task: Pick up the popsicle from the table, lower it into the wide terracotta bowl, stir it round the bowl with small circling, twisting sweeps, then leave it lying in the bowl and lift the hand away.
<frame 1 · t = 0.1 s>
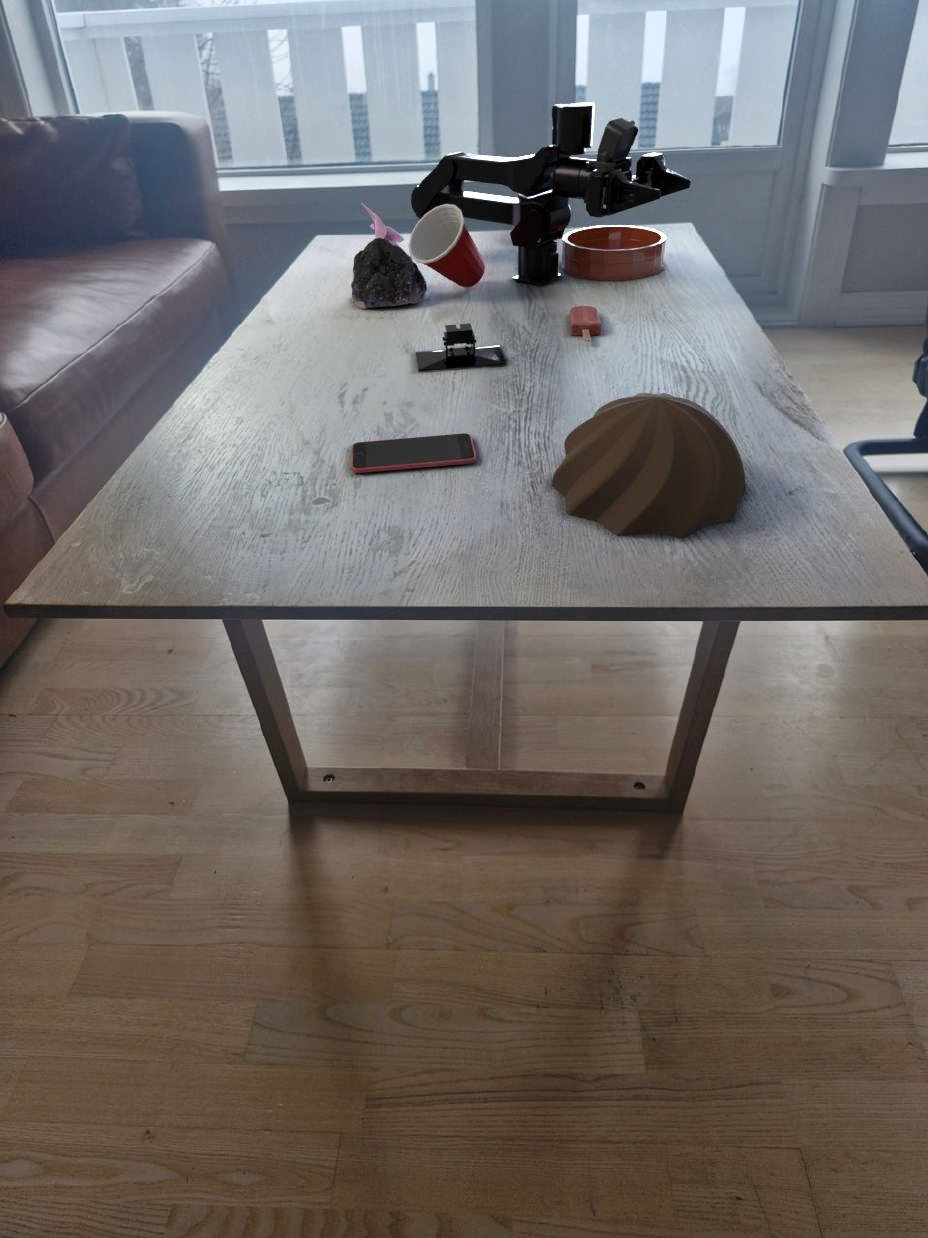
hand: (675, 189, 119), 17 cm above the table, tool horizontal, fingers open, 9 cm apart
decorative dome: (646, 489, 83), on the table
smartphone: (413, 456, 91), on the table
bowl: (611, 266, 148), on the table
plastic cup: (471, 272, 140), point 2 cm above the table, touching crystal cluster
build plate: (460, 360, 114), on the table
popsicle: (584, 331, 121), on the table
crystal cluster: (388, 300, 138), on the table, touching plastic cup
lily: (387, 259, 159), on the table
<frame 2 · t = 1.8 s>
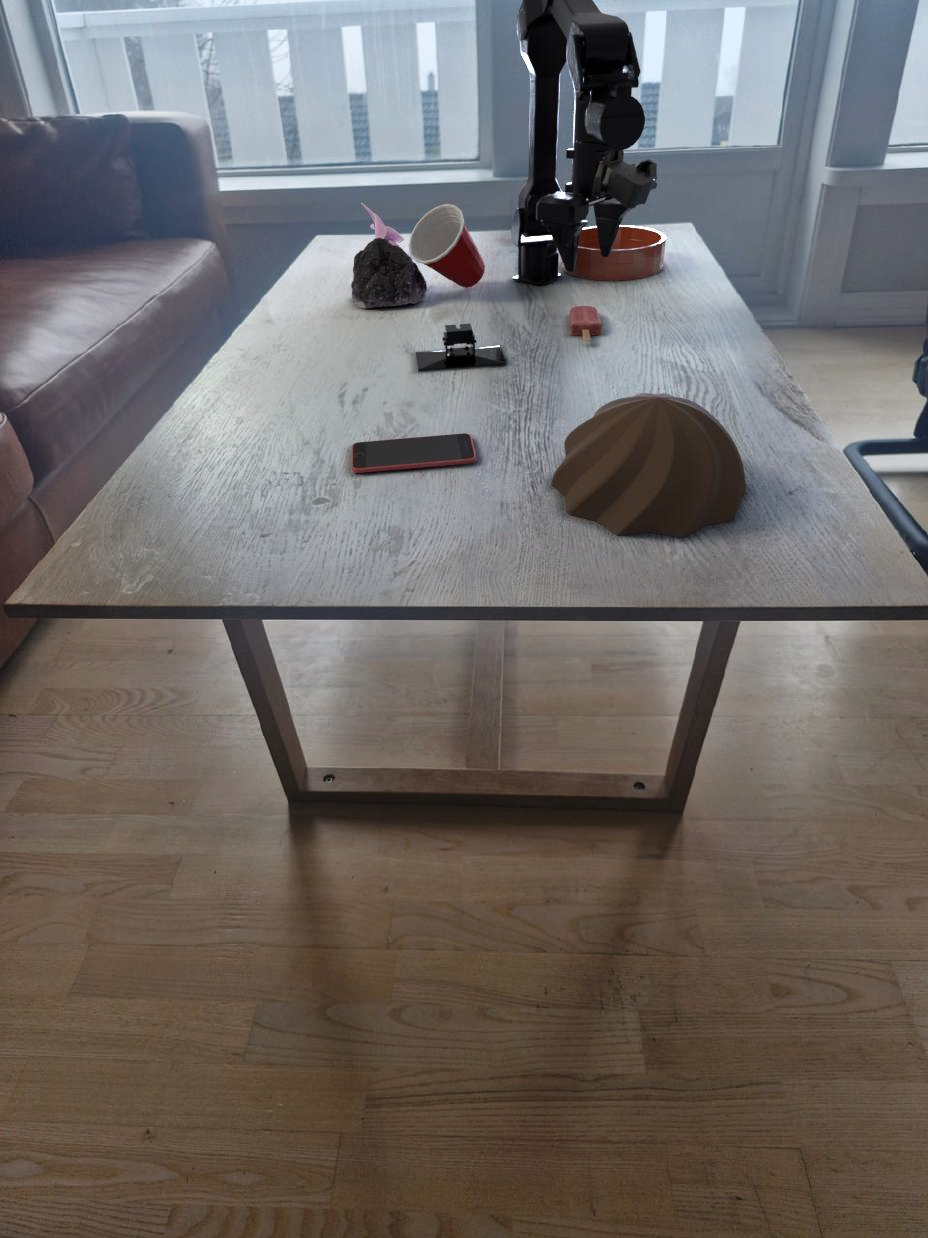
hand: (588, 263, 115), 10 cm above the table, tool pointing down, fingers open, 9 cm apart
nothing on the table moved.
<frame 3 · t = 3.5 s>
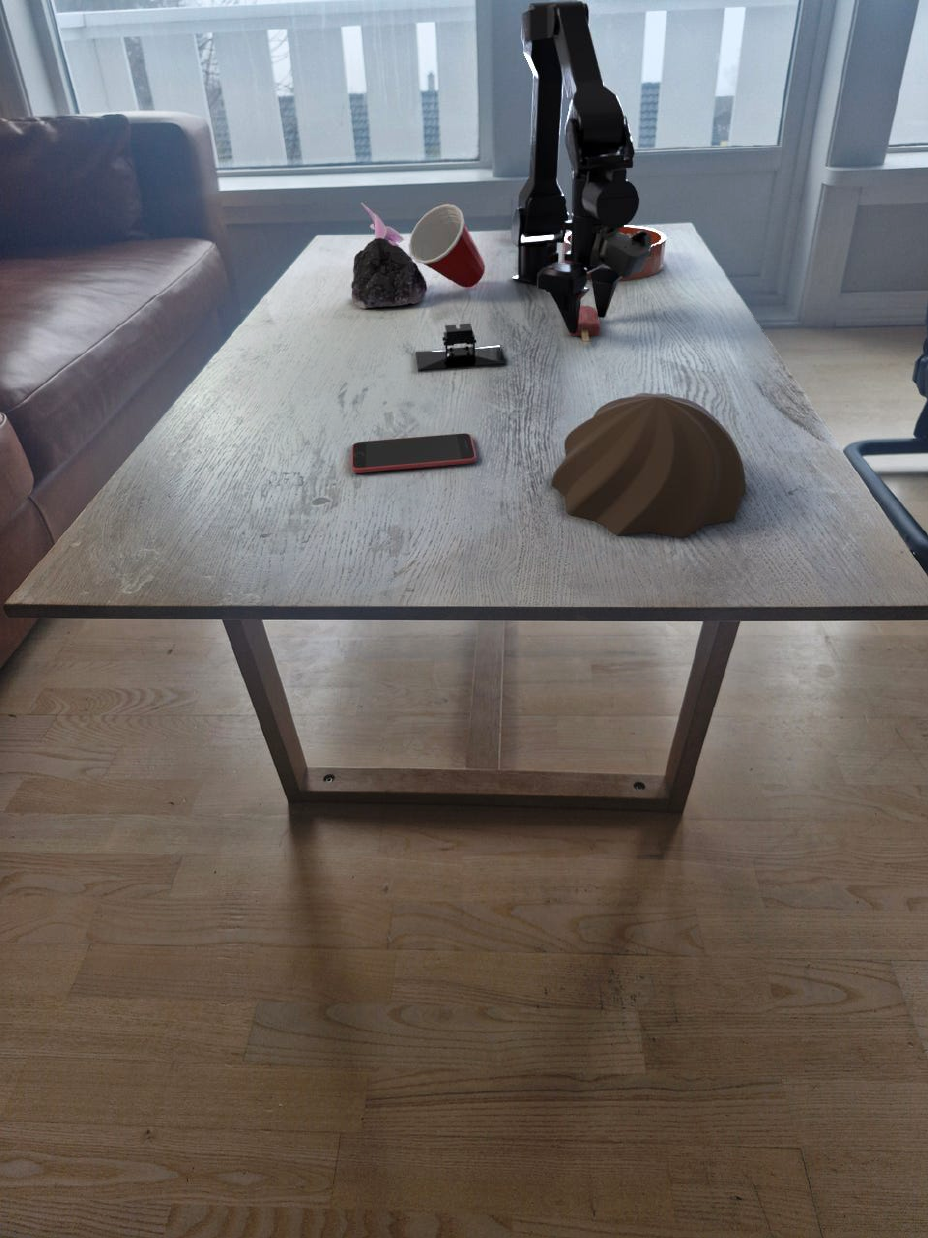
hand: (587, 325, 121), 1 cm above the table, tool pointing down, fingers closed on popsicle, 8 cm apart
popsicle: (583, 331, 121), on the table, touching gripper
everything else where it was.
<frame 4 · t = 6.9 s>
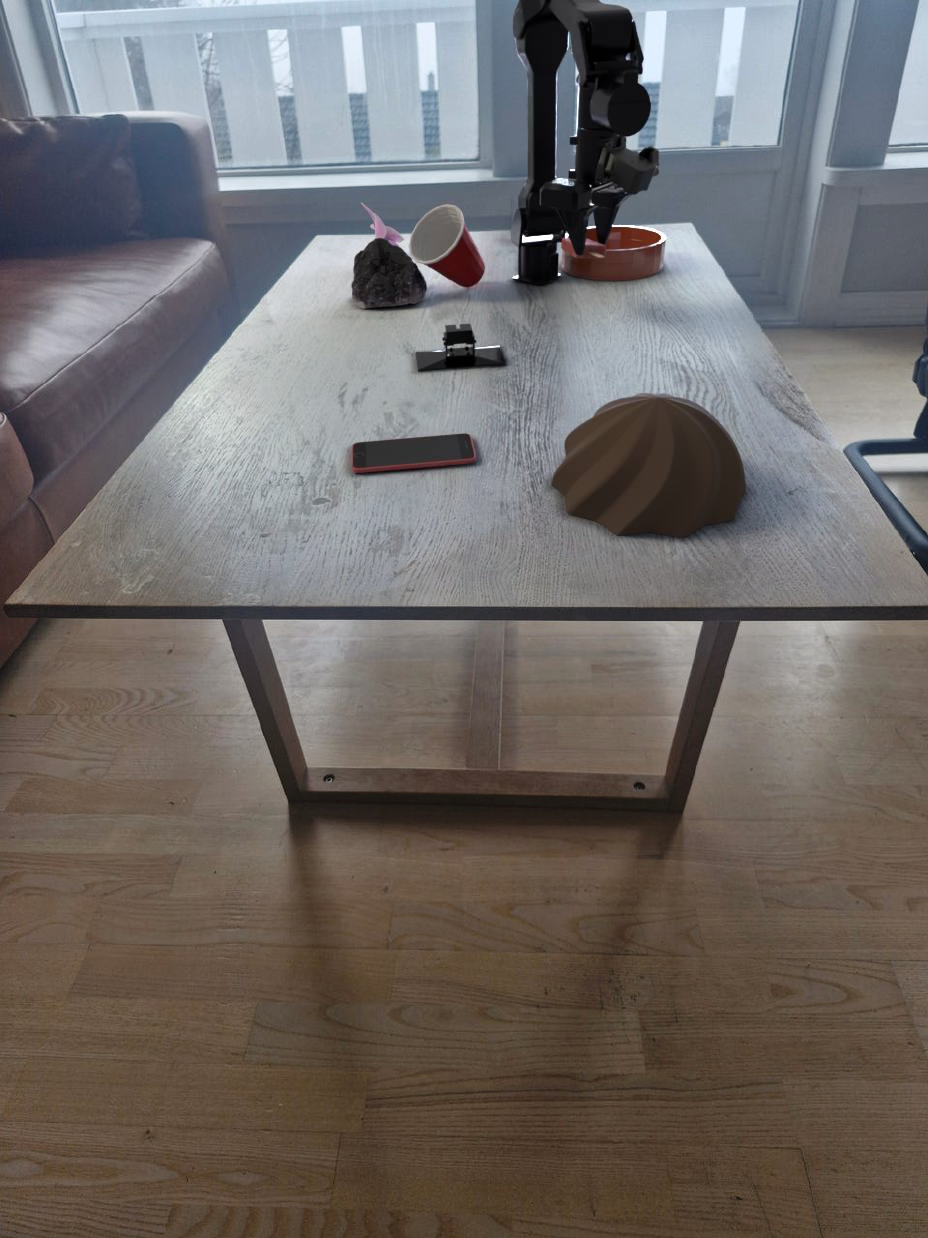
hand: (590, 249, 117), 11 cm above the table, tool pointing down, fingers closed on popsicle, 6 cm apart
popsicle: (585, 256, 118), point 10 cm above the table, touching gripper
everything else where it was.
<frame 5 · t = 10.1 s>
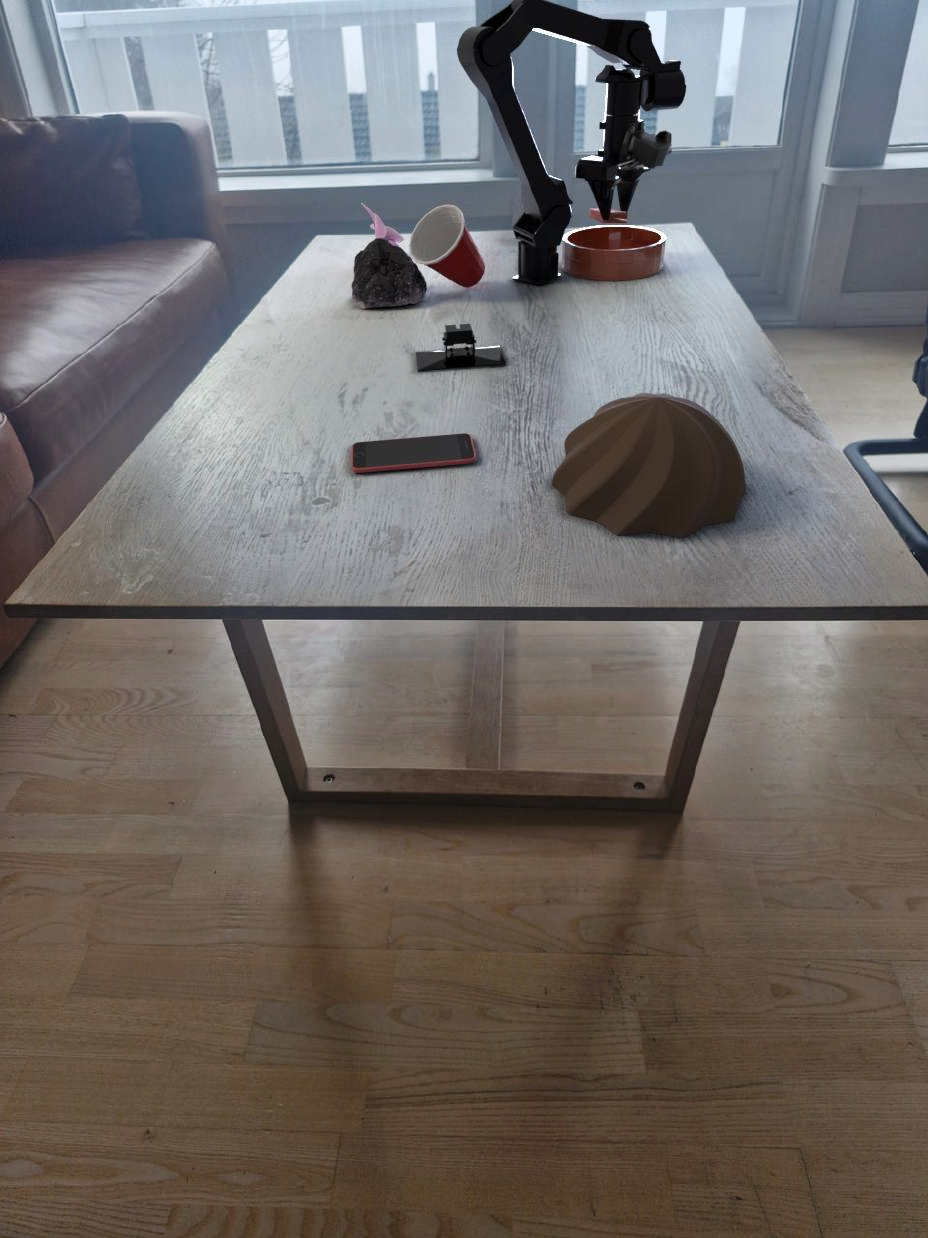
hand: (614, 216, 142), 8 cm above the table, tool pointing down, fingers closed on popsicle, 6 cm apart
popsicle: (610, 222, 143), point 7 cm above the table, touching gripper
everything else where it was.
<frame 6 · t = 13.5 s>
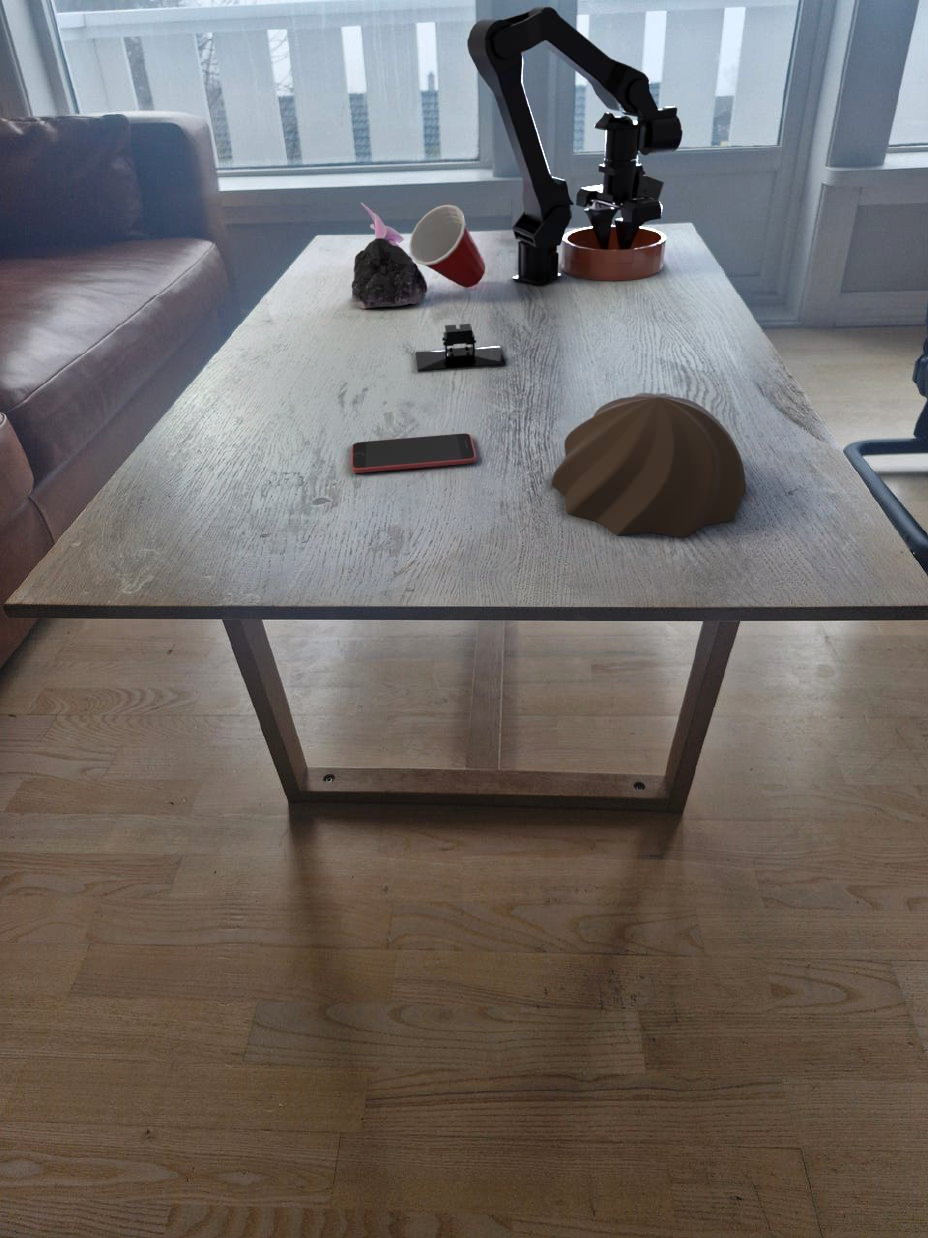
hand: (613, 254, 146), 2 cm above the table, tool pointing down, fingers closed on popsicle, 6 cm apart
popsicle: (607, 261, 147), point 1 cm above the table, touching gripper
everything else where it was.
when the fingers open (2 cm above the table, at t = 16.7 s): popsicle stays where it is, resting on bowl.
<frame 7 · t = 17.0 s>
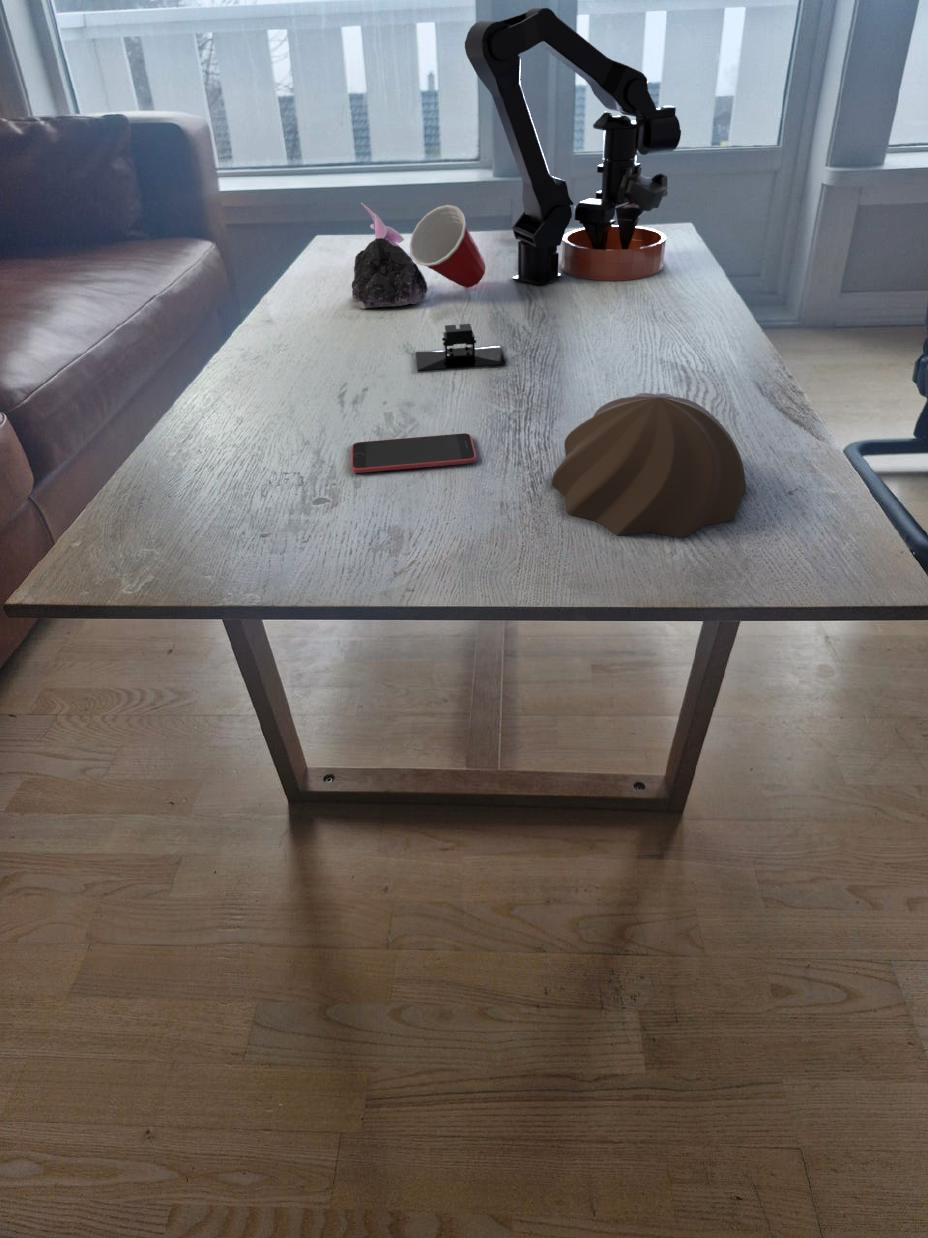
hand: (612, 254, 146), 2 cm above the table, tool pointing down, fingers open, 8 cm apart
popsicle: (606, 264, 147), resting on bowl
everything else where it was.
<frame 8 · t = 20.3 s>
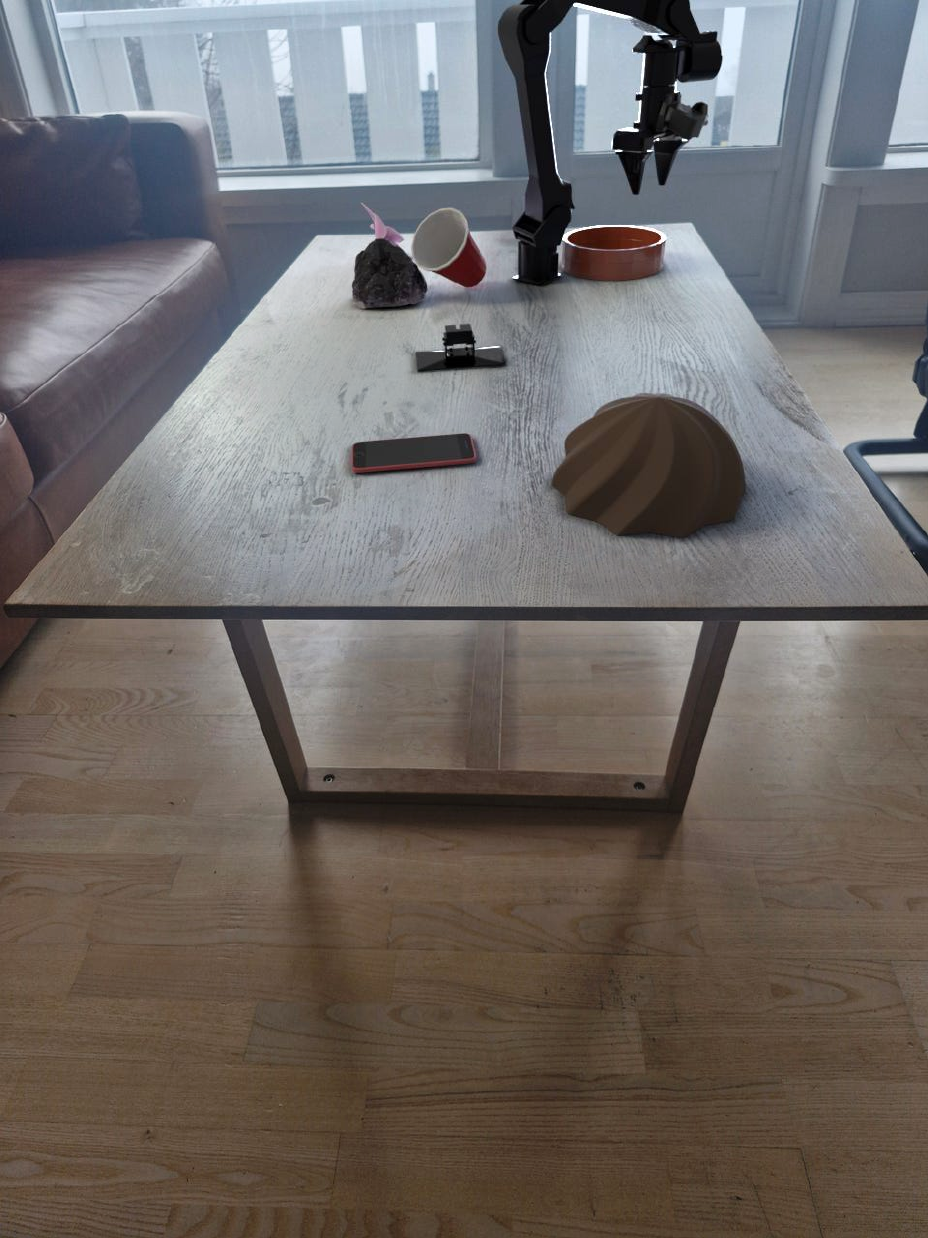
hand: (649, 189, 142), 12 cm above the table, tool pointing down, fingers open, 9 cm apart
plastic cup: (473, 270, 140), point 3 cm above the table
crystal cluster: (388, 300, 137), on the table
everything else where it was.
at the end: popsicle inside the target area in the bowl (1.1 cm from its centre), point 0.4 cm above the bowl's base; the gripper is holding nothing; popsicle moved 35.1 cm from its start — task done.
